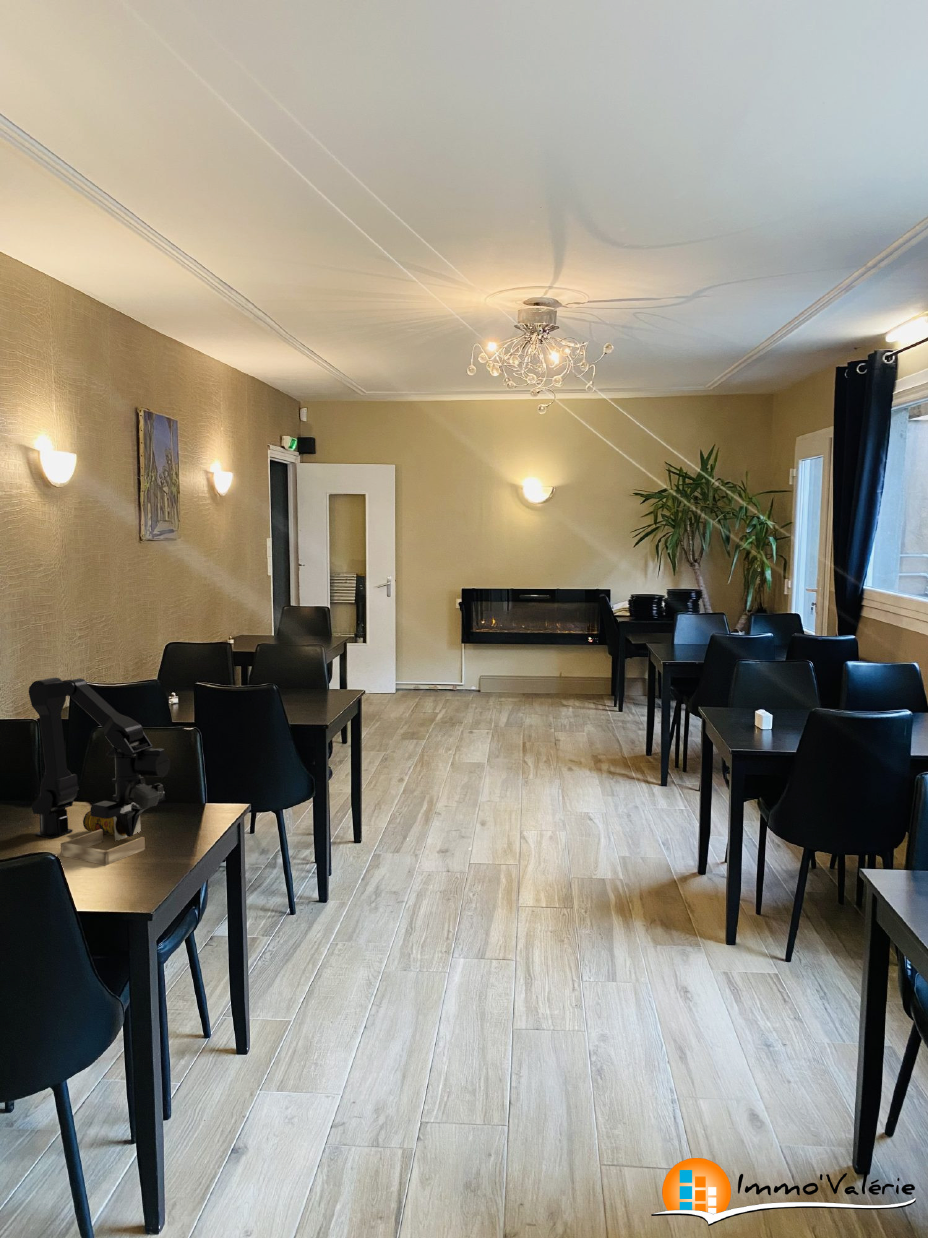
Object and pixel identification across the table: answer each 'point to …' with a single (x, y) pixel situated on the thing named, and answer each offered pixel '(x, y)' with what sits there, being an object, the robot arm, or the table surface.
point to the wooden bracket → (81, 850)
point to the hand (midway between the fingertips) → (129, 836)
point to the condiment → (107, 825)
